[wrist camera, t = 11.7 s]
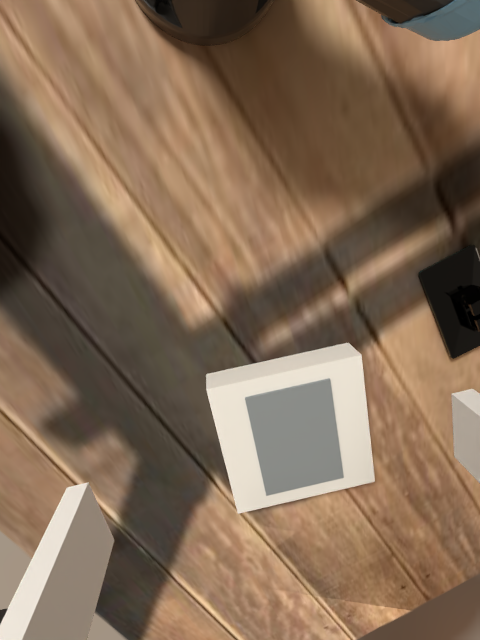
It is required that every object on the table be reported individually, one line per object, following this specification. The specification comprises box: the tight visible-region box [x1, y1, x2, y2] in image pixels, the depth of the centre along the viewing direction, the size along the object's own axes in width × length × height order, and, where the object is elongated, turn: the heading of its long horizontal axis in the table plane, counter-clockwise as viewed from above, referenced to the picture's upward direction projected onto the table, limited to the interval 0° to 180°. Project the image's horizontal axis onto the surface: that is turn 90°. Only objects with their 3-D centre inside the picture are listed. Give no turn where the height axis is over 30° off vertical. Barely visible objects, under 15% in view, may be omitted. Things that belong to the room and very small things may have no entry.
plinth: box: [206, 343, 375, 514], centre depth 46 cm, size 18×18×4 cm
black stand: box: [418, 245, 480, 359], centre depth 43 cm, size 12×7×5 cm, turn 28°
